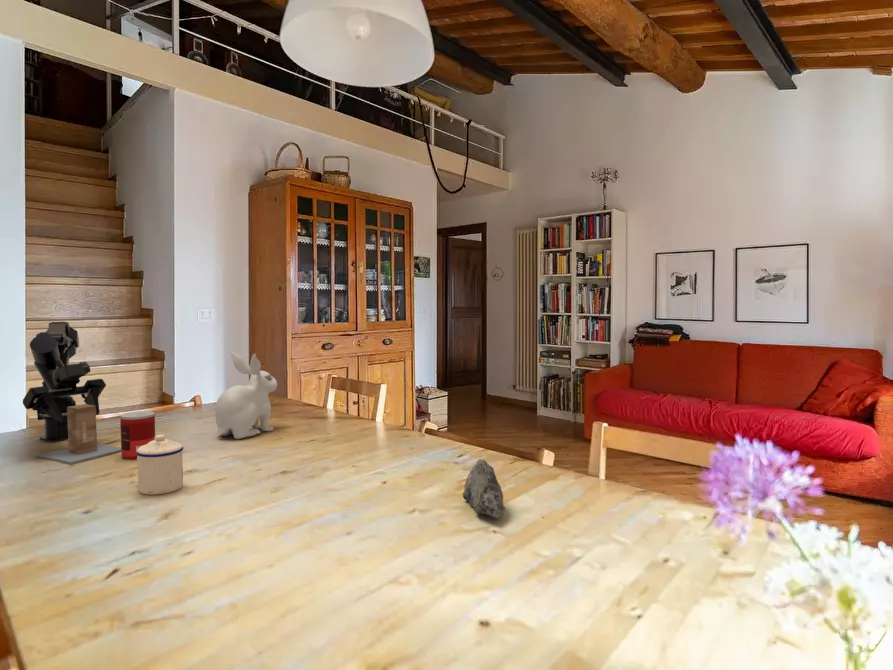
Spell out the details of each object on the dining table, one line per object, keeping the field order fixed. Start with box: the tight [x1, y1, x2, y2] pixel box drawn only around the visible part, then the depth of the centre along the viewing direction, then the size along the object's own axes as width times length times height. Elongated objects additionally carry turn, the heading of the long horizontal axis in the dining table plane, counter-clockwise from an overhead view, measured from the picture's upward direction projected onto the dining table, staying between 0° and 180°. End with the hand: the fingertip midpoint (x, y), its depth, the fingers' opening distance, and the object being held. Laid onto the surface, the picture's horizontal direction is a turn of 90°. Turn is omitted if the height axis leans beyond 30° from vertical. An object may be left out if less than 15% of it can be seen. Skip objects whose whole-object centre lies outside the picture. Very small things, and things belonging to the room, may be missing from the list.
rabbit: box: [215, 350, 278, 440], centre depth 171 cm, size 12×21×25 cm, turn 148°
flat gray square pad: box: [37, 442, 121, 466], centre depth 148 cm, size 14×14×1 cm
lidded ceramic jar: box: [136, 434, 184, 496], centre depth 123 cm, size 12×9×12 cm
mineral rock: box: [462, 458, 505, 519], centre depth 111 cm, size 13×11×10 cm
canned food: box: [119, 410, 156, 460], centre depth 147 cm, size 8×8×11 cm
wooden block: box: [67, 403, 98, 455], centre depth 148 cm, size 5×5×12 cm
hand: (80, 417), depth 148 cm, fingers open, 9 cm apart
